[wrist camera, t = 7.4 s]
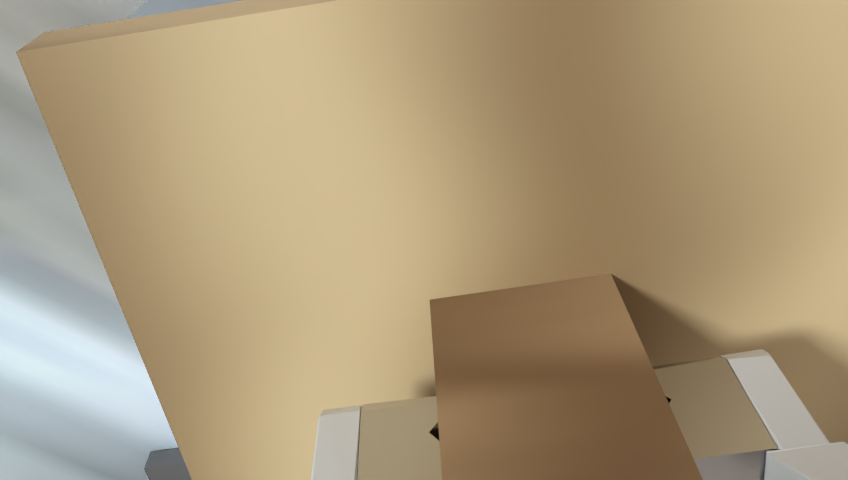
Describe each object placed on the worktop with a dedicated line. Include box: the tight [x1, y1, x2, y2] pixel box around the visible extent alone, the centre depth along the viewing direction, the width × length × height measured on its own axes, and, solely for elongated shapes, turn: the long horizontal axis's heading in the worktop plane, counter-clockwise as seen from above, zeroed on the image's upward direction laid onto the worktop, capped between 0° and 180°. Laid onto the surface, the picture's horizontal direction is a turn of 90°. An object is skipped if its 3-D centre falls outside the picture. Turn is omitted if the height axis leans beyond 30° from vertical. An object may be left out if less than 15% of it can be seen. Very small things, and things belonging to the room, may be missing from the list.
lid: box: [16, 0, 848, 480], centre depth 10 cm, size 10×10×5 cm
